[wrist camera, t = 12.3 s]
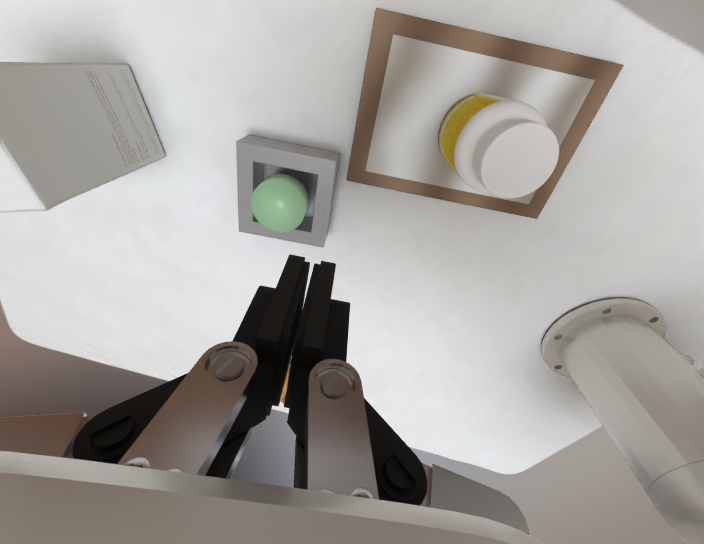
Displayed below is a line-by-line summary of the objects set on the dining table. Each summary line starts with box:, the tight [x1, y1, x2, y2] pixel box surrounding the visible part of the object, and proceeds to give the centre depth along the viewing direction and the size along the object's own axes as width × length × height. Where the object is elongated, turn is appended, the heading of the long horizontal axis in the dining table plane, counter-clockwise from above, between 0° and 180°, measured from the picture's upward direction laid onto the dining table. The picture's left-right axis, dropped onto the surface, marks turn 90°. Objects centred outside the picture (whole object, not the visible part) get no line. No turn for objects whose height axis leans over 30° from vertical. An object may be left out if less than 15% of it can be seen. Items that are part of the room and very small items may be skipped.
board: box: [347, 8, 624, 219], centre depth 25 cm, size 18×12×1 cm, turn 80°
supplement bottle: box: [438, 93, 559, 198], centre depth 20 cm, size 5×5×10 cm
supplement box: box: [0, 62, 166, 212], centre depth 21 cm, size 7×7×13 cm
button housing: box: [236, 135, 340, 247], centre depth 28 cm, size 8×8×3 cm
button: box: [251, 174, 309, 232], centre depth 26 cm, size 4×4×2 cm
